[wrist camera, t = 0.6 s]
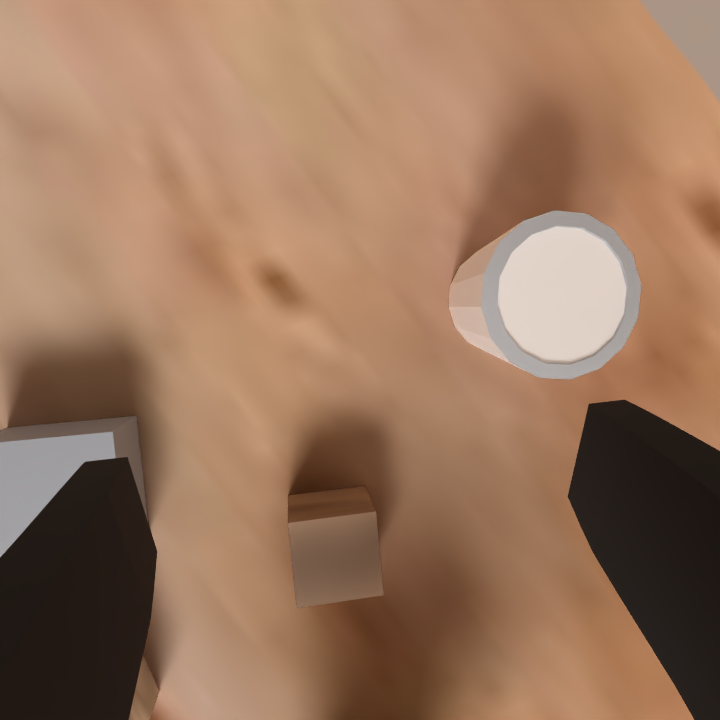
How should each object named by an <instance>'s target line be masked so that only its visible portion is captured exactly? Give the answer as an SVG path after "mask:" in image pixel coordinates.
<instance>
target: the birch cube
mask: <svg viewBox="0 0 720 720" xmlns="http://www.w3.org/2000/svg"><path fill="white" fill-rule="evenodd" d="M158 694H159V689H158V687H157V685H156V683H155V680H154V678H153V676H152V674H151V671H150V669H149V667H148V665H147V662H146V660H145V658H144V656H143V657H142V662H141V666H140V671H139V676H138V680H137V685H136V689H135V694H134V698H133V703H132V707H131V712H130V716H129V720H150V717H151V714H152V711H153V708H154V706H155V703H156V700H157V697H158Z"/></svg>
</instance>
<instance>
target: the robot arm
mask: <svg viewBox="0 0 720 720" xmlns="http://www.w3.org/2000/svg"><path fill="white" fill-rule="evenodd" d="M568 498H569V500H570V503H571V505H572V507H573V509H574V512H575V514H576V516H577V519H578V521H579V523H580V526H581V528H582V530H583V532H584V534H585V536H586V538H587V541H588V543H589V545H590V547H591V549H592V551H593V553H594V555H595V557H596V558H597V560H598V562H599V563H600V565H601V567H602V568H603V570H604V572H605V573H606V575H607V576H608V578H609V580H610V581H611V583H612V585H613V586H614V588H615V590H616V591H617V593H618V595H619V596H620V598H621V599H622V601H623V603H624V604H625V606H626V607H627V609H628V611H629V612H630V614H631V616H632V617H633V619H634V620H635V622H636V624H637V625H638V627H639V628H640V630H641V632H642V633H643V635H644V636H645V638H646V640H647V641H648V643H649V644H650V646H651V648H652V649H653V651H654V653H655V654H656V656H657V657H658V659H659V661H660V662H661V664H662V665H663V667H664V669H665V670H666V672H667V673H668V675H669V677H670V678H671V680H672V681H673V683H674V685H675V686H676V688H677V690H678V692H679V693H680V695H681V697H682V699H683V700H684V702H685V704H686V706H687V707H688V709H689V711H690V713H691V714H692V716H693V718H694V720H720V451H719V450H717V449H715V448H713V447H711V446H710V445H708V444H706V443H704V442H703V441H701V440H699V439H697V438H695V437H694V436H692V435H690V434H688V433H687V432H685V431H683V430H681V429H679V428H678V427H676V426H674V425H672V424H670V423H668V422H667V421H665V420H663V419H661V418H659V417H658V416H656V415H654V414H652V413H650V412H648V411H646V410H644V409H642V408H640V407H638V406H636V405H634V404H632V403H630V402H628V401H626V400H618V401H610V402H601V403H592V404H589V406H588V410H587V415H586V419H585V423H584V428H583V432H582V437H581V441H580V445H579V450H578V454H577V458H576V463H575V467H574V472H573V476H572V480H571V485H570V489H569V494H568ZM156 558H157V549H156V546H155V543H154V540H153V537H152V533H151V530H150V527H149V524H148V521H147V517H146V514H145V511H144V508H143V505H142V501H141V498H140V495H139V492H138V489H137V485H136V482H135V479H134V476H133V473H132V469H131V466H130V463H129V460H128V457H121V458H113V459H104V460H95V461H86V462H84V463H83V464H82V465H81V466H80V467H79V469H78V470H77V471H76V472H75V473H74V474H73V475H72V476H71V477H70V479H69V480H68V481H67V482H66V483H65V484H64V485H63V486H62V488H61V489H60V490H59V491H58V492H57V493H56V494H55V496H54V497H53V498H52V499H51V500H50V501H49V503H48V504H47V505H46V506H45V507H44V508H43V509H42V511H41V512H40V513H39V514H38V515H37V516H36V518H35V519H34V520H33V521H32V522H31V523H30V524H29V526H28V527H27V528H26V529H25V530H24V531H23V532H22V534H21V535H20V536H19V537H18V538H17V539H16V540H15V542H14V543H13V544H12V545H11V546H10V547H9V548H8V549H7V550H6V551H5V553H4V554H3V555H2V556H1V557H0V720H129V716H130V712H131V707H132V703H133V698H134V694H135V689H136V685H137V680H138V676H139V671H140V666H141V662H142V657H143V652H144V648H145V643H146V638H147V633H148V629H149V624H150V619H151V611H152V602H153V592H154V582H155V570H156Z"/></svg>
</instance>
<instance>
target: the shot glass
mask: <svg viewBox="0 0 720 720" xmlns="http://www.w3.org/2000/svg"><path fill="white" fill-rule="evenodd" d="M640 293H641V283H640V279H639V275H638V272H637V268H636V264H635V261H634V257H633V254H632V253H631V251H630V250H629V249H628V247H627V246H626V245H625V243H624V242H623V241H622V239H621V238H620V237H619V236H618V234H617V233H616V232H615V230H614V229H613V228H611V227H609V226H607V225H606V224H604V223H602V222H600V221H599V220H597V219H595V218H593V217H592V216H590V215H588V214H586V213H577V212H567V211H556V210H554V211H551V212H548V213H545V214H542V215H539V216H536V217H533V218H530V219H527V220H524V221H522V222H521V223H519V224H518V225H516V226H515V227H513V228H512V229H510V230H509V231H507V232H506V233H504V234H503V235H501V236H500V237H498V238H497V239H495V240H493V241H492V242H490V243H489V244H487V245H486V246H484V247H483V248H481V249H480V250H478V251H477V252H475V253H474V254H473V255H472V256H471V257H470V258H468V259H467V260H466V261H465V262H464V263H463V264H462V265H461V266H460V267H459V269H458V271H457V273H456V275H455V277H454V279H453V281H452V283H451V285H450V294H449V310H450V313H451V316H452V320H453V323H454V326H455V328H456V329H457V330H458V331H459V332H460V334H461V335H462V336H463V337H464V338H465V340H466V341H467V342H468V343H470V344H472V345H474V346H476V347H478V348H480V349H481V350H483V351H485V352H487V353H489V354H492V355H494V356H496V357H498V358H500V359H502V360H504V361H506V362H508V363H510V364H512V365H514V366H516V367H518V368H520V369H522V370H524V371H526V372H529V373H531V374H533V375H535V376H537V377H539V378H553V379H573V378H576V377H578V376H581V375H584V374H587V373H589V372H592V371H595V370H598V369H600V368H601V367H602V366H603V365H604V364H605V363H607V362H608V361H609V360H610V359H611V358H612V357H613V356H614V355H615V354H616V353H618V352H619V351H620V350H621V349H622V348H623V347H624V345H625V343H626V341H627V339H628V337H629V335H630V333H631V331H632V329H633V327H634V325H635V323H636V321H637V319H638V312H639V303H640Z"/></svg>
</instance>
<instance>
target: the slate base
mask: <svg viewBox="0 0 720 720" xmlns="http://www.w3.org/2000/svg"><path fill="white" fill-rule="evenodd" d="M121 457H128V460H129V463H130V466H131V469H132V473H133V476H134V479H135V482H136V485H137V489H138V492H139V495H140V498H141V501H142V505H143V508H144V511H145V514H146V517H147V521H148V516H147V507H146V498H145V489H144V480H143V470H142V461H141V452H140V443H139V434H138V425H137V416H129V417H118V418H107V419H96V420H85V421H74V422H63V423H52V424H42V425H31V426H20V427H9V428H5V429H3V430H0V557H1V556H2V555H3V554H4V553H5V551H6V550H7V549H8V548H9V547H10V546H11V545H12V544H13V543H14V542H15V540H16V539H17V538H18V537H19V536H20V535H21V534H22V532H23V531H24V530H25V529H26V528H27V527H28V526H29V524H30V523H31V522H32V521H33V520H34V519H35V518H36V516H37V515H38V514H39V513H40V512H41V511H42V509H43V508H44V507H45V506H46V505H47V504H48V503H49V501H50V500H51V499H52V498H53V497H54V496H55V494H56V493H57V492H58V491H59V490H60V489H61V488H62V486H63V485H64V484H65V483H66V482H67V481H68V480H69V479H70V477H71V476H72V475H73V474H74V473H75V472H76V471H77V470H78V469H79V467H80V466H81V465H82V464H83V463H84V462H86V461H95V460H104V459H113V458H121Z"/></svg>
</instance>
